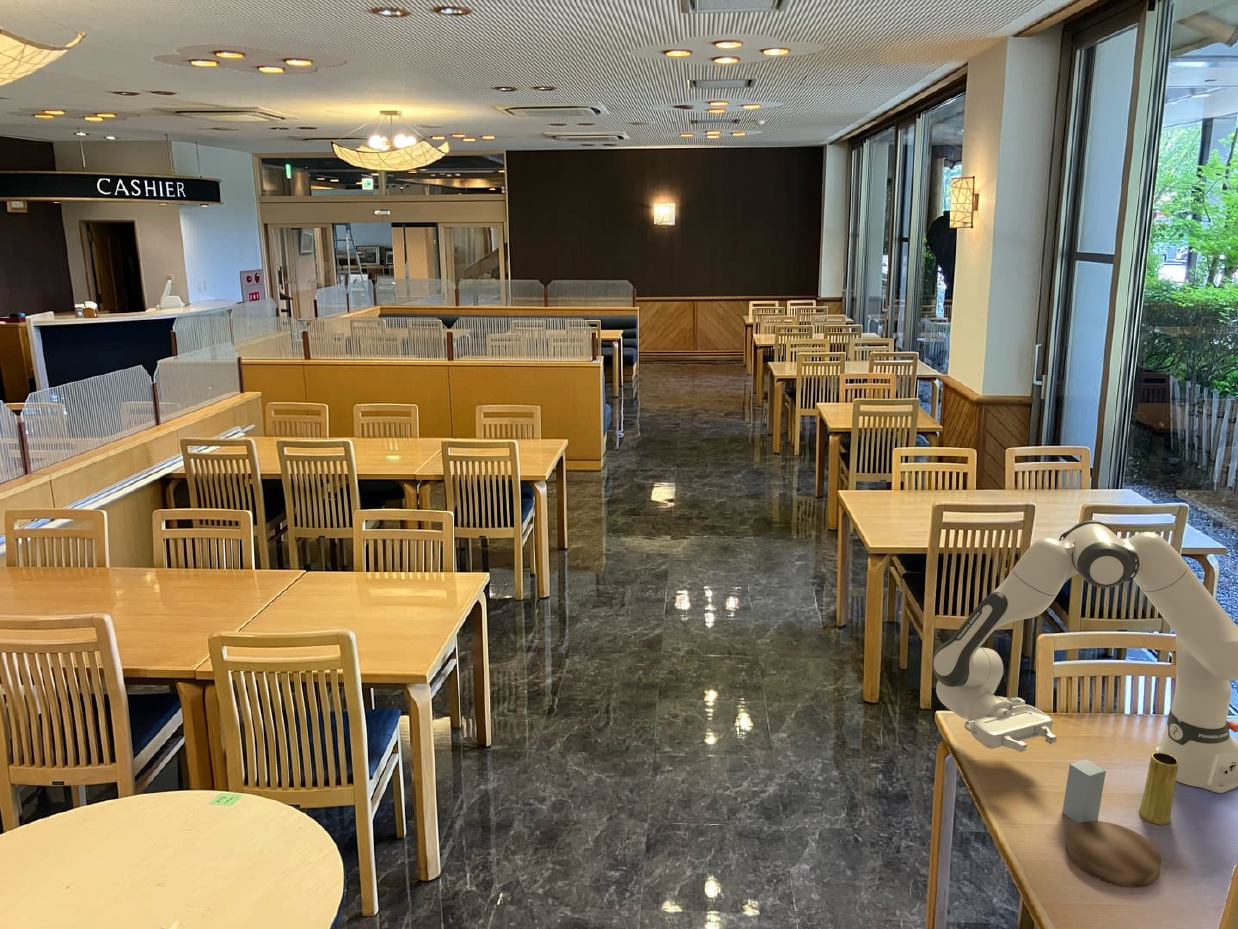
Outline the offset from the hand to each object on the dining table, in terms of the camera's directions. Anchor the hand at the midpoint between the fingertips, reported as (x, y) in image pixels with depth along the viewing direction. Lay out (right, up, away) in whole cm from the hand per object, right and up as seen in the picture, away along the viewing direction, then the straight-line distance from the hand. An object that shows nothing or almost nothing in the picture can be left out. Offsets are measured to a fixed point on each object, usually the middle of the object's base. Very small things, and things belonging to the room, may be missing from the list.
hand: (1039, 744), depth 220 cm
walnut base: (+5, -17, -22) cm, 28 cm away
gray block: (+5, -13, -8) cm, 16 cm away
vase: (+22, -14, -7) cm, 27 cm away
